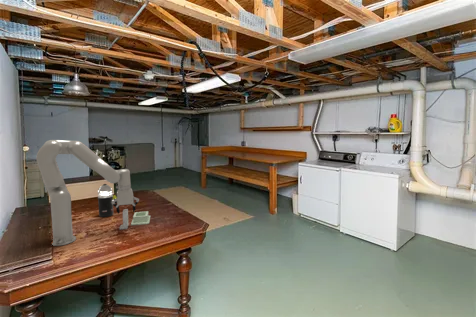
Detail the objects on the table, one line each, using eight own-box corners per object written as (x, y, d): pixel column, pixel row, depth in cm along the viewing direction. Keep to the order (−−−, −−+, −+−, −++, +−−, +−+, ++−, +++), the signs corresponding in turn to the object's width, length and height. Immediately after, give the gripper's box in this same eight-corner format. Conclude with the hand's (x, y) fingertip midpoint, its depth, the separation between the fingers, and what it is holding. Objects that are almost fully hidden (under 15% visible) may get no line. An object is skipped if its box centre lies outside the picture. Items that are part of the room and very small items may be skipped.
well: (149, 223, 176) (148, 216, 176) (130, 225, 173) (130, 218, 173) (150, 216, 192) (150, 210, 191) (133, 217, 188) (133, 211, 188)
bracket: (127, 228, 167) (126, 211, 166) (119, 229, 166) (118, 212, 164) (128, 225, 173) (127, 208, 171) (120, 226, 171) (120, 209, 170)
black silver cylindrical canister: (97, 218, 187) (95, 185, 184) (100, 213, 196) (99, 182, 194) (112, 217, 189) (110, 185, 187) (114, 212, 199) (113, 182, 197)
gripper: (109, 189, 161) (111, 215, 163) (137, 187, 165) (139, 212, 168) (111, 187, 168) (113, 211, 170) (138, 185, 173) (140, 209, 175)
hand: (126, 212), depth 169 cm, fingers open, 9 cm apart
